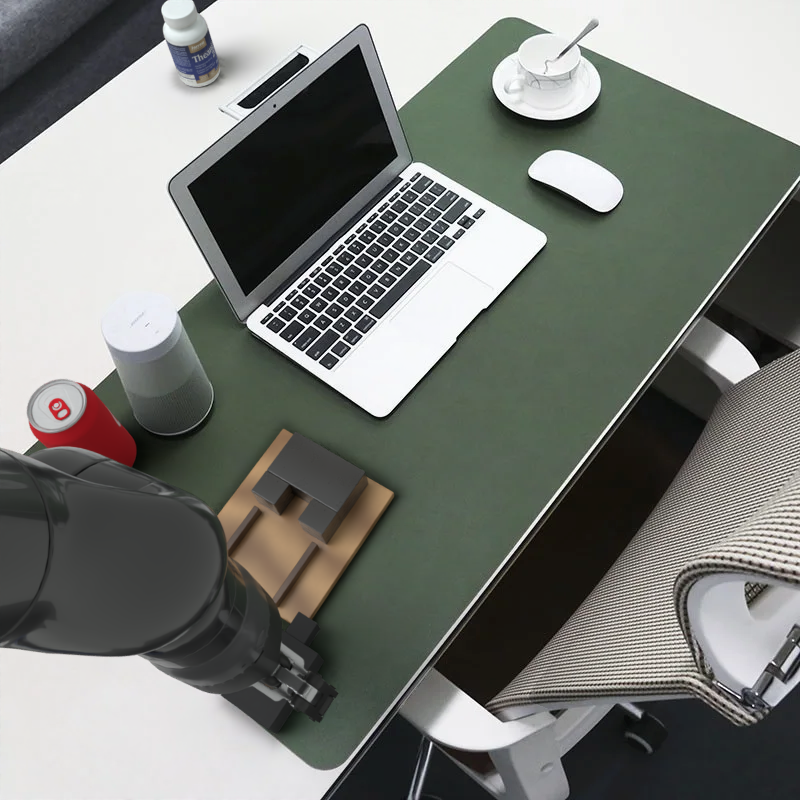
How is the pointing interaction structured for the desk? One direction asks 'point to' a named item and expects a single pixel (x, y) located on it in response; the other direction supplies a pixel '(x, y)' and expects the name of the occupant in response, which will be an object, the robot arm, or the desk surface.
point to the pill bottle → (189, 43)
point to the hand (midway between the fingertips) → (265, 664)
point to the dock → (293, 542)
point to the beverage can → (78, 421)
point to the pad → (278, 711)
